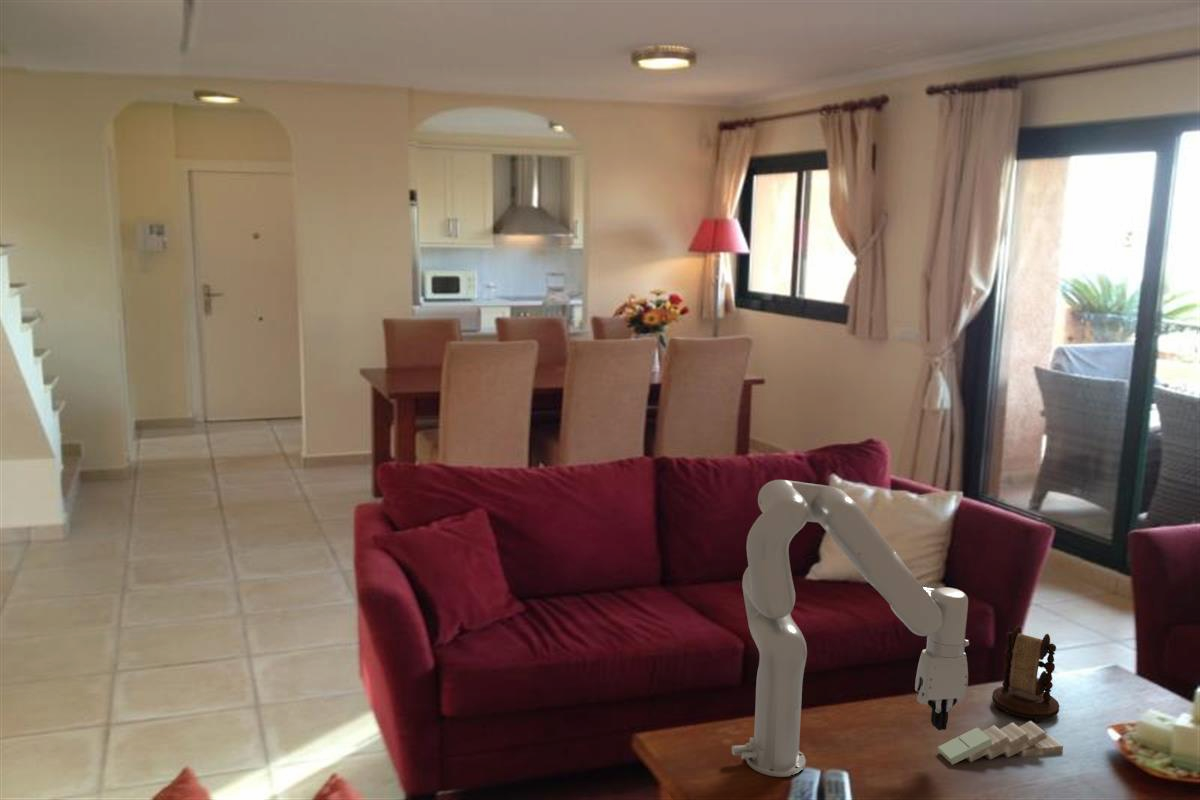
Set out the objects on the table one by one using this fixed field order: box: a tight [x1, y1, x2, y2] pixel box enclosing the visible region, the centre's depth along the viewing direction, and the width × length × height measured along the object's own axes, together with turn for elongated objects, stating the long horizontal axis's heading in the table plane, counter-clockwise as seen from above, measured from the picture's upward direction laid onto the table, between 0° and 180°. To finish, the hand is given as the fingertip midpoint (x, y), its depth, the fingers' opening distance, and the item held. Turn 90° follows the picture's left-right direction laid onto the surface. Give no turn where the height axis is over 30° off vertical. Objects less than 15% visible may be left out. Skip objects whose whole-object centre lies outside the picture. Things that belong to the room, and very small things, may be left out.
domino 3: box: [984, 722, 1029, 761], centre depth 217 cm, size 2×5×10 cm
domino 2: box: [965, 724, 1010, 763], centre depth 216 cm, size 2×5×10 cm
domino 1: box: [937, 727, 993, 766], centre depth 215 cm, size 2×5×10 cm
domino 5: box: [1017, 734, 1064, 758], centre depth 219 cm, size 2×5×10 cm
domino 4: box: [1001, 720, 1047, 759], centre depth 218 cm, size 2×5×10 cm
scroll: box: [991, 625, 1060, 724], centre depth 236 cm, size 15×15×20 cm
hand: (938, 726), depth 213 cm, fingers closed
